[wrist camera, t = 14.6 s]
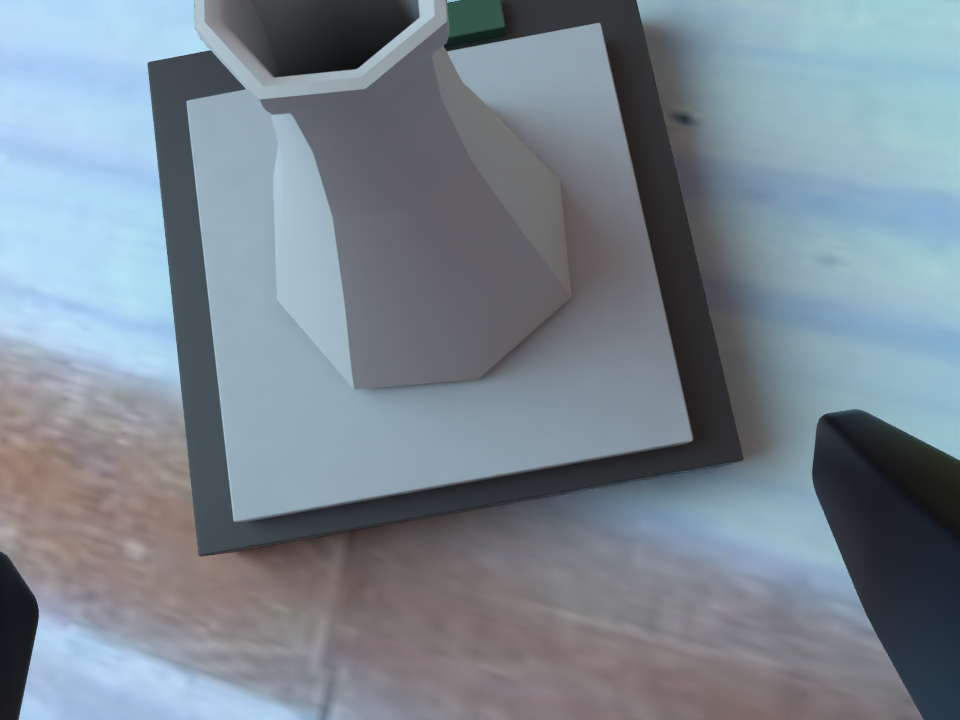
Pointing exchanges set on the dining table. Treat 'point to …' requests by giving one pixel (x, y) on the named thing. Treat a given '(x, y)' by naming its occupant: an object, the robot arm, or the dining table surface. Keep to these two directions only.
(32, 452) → the dining table surface
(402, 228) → the grey faceted vase
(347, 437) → the kitchen scale
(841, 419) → the robot arm
